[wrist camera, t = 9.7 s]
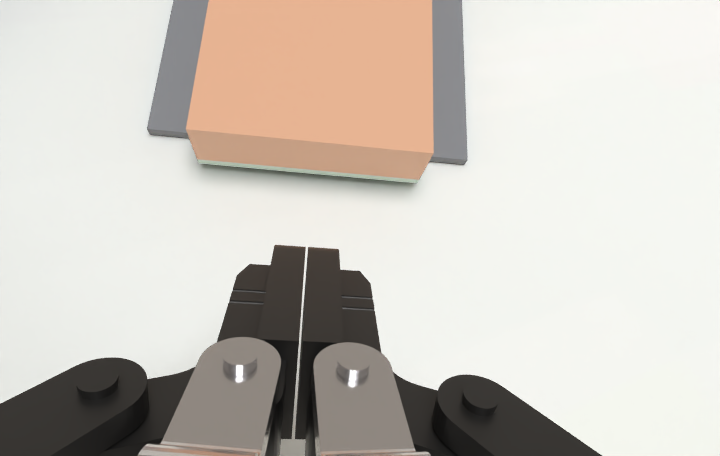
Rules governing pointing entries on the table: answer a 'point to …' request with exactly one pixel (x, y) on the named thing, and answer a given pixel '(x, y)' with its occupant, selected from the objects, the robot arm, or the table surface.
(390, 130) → the tile
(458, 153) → the slate mat
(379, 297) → the table surface
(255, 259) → the table surface
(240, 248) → the table surface
